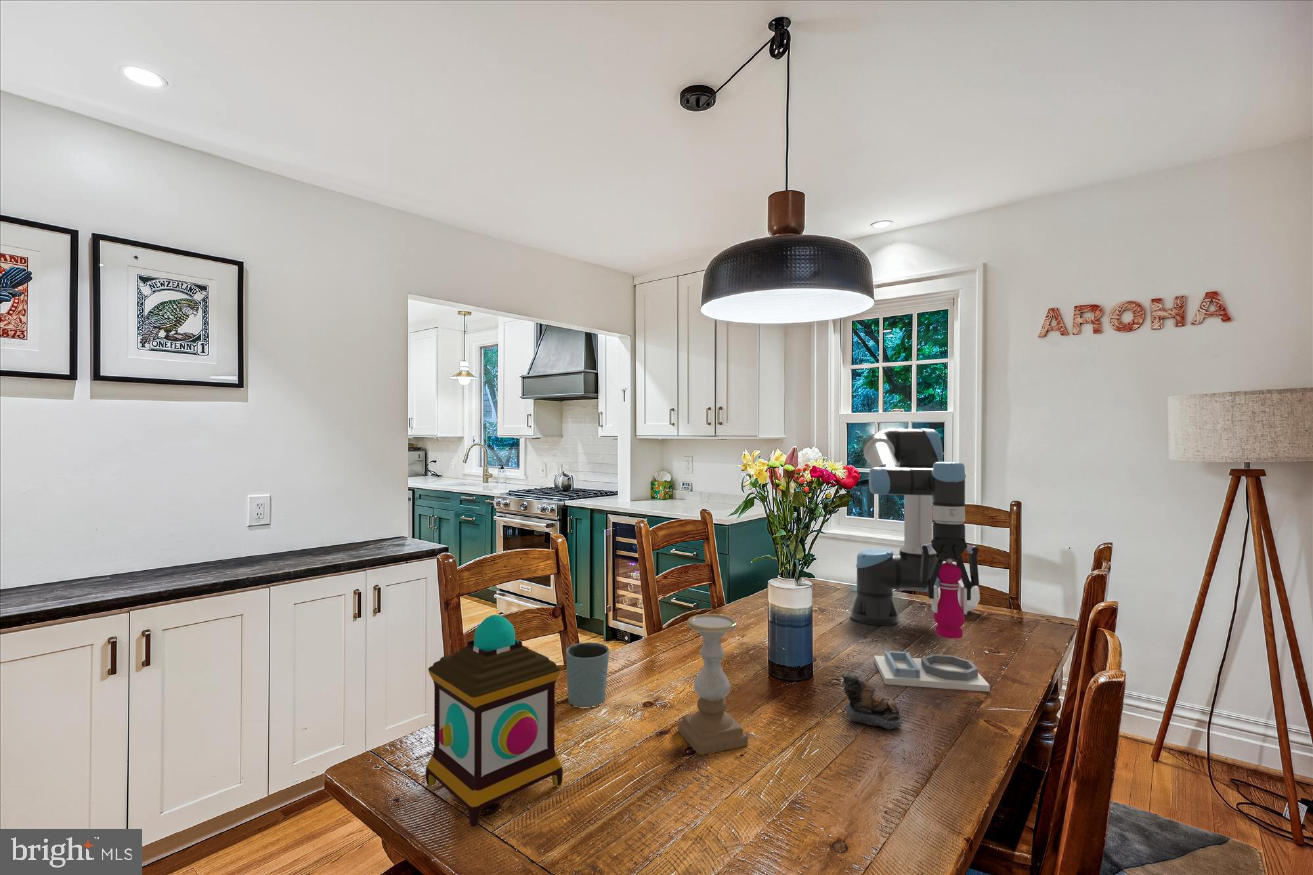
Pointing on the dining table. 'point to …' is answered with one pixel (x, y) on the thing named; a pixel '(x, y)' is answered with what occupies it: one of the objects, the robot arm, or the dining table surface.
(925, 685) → the holder board
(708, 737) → the candle holder
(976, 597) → the geodesic sphere
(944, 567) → the pepper mill
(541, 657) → the decorative lantern
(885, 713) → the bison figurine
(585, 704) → the blue grey cup
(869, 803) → the dining table surface
